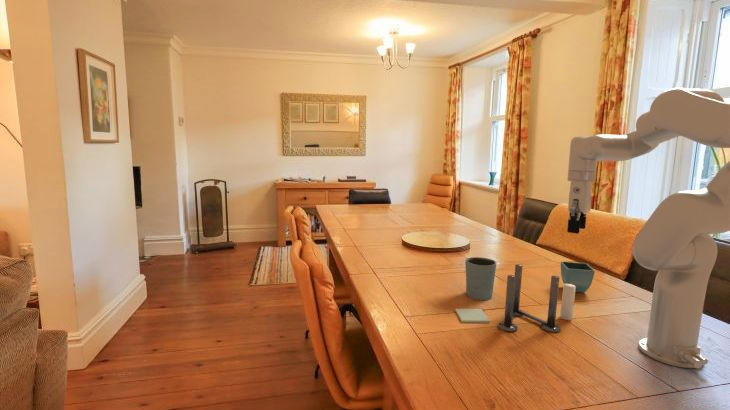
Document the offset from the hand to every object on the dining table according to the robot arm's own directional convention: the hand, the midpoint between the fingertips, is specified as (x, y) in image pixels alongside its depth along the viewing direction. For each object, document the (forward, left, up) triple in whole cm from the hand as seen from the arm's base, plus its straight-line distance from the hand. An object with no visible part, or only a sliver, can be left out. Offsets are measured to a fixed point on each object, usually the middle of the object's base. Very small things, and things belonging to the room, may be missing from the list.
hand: (576, 230), depth 123 cm
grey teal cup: (+5, +28, -24) cm, 37 cm away
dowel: (-12, +7, -24) cm, 28 cm away
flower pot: (+11, -8, -24) cm, 28 cm away
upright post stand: (-14, +21, -24) cm, 35 cm away
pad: (-12, +35, -24) cm, 44 cm away
